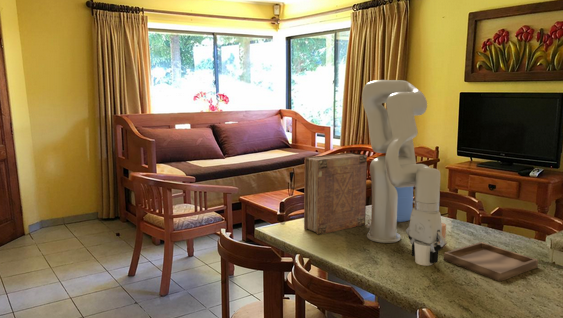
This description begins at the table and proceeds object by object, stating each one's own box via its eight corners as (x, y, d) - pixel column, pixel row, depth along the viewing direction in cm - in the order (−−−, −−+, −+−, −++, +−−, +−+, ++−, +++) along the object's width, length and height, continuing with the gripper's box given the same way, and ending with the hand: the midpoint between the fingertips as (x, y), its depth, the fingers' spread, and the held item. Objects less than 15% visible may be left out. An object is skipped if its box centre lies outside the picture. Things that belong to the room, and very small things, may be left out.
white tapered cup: (436, 267, 140) (437, 246, 139) (414, 265, 141) (415, 244, 140) (433, 259, 147) (434, 239, 146) (412, 257, 148) (413, 237, 147)
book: (317, 235, 172) (317, 160, 168) (303, 229, 180) (303, 157, 175) (365, 224, 185) (367, 154, 181) (351, 219, 193) (352, 152, 189)
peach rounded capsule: (420, 244, 161) (421, 223, 160) (433, 240, 165) (434, 220, 163) (436, 250, 155) (437, 228, 154) (449, 246, 159) (450, 225, 157)
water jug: (418, 217, 196) (421, 155, 192) (401, 224, 185) (403, 159, 181) (387, 210, 207) (389, 152, 203) (369, 217, 195) (371, 155, 191)
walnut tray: (443, 259, 146) (443, 252, 146) (480, 248, 156) (481, 241, 156) (499, 281, 129) (500, 273, 129) (537, 267, 139) (538, 259, 139)
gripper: (398, 202, 147) (396, 253, 149) (441, 214, 132) (438, 270, 135) (414, 199, 150) (412, 248, 153) (457, 210, 136) (454, 265, 138)
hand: (424, 258), depth 144 cm, fingers open, 6 cm apart
